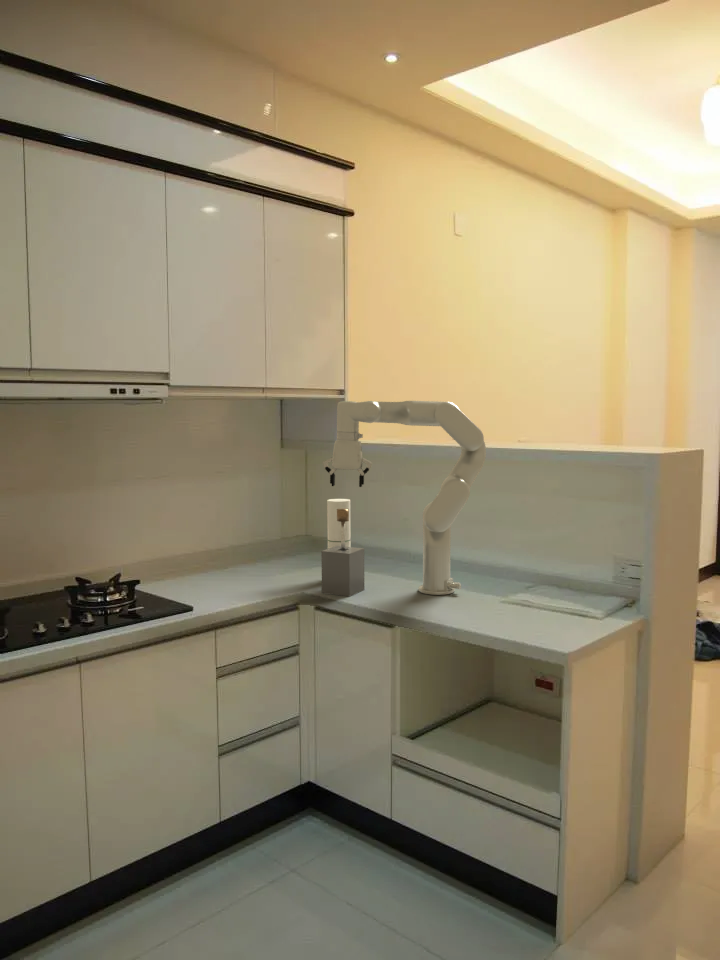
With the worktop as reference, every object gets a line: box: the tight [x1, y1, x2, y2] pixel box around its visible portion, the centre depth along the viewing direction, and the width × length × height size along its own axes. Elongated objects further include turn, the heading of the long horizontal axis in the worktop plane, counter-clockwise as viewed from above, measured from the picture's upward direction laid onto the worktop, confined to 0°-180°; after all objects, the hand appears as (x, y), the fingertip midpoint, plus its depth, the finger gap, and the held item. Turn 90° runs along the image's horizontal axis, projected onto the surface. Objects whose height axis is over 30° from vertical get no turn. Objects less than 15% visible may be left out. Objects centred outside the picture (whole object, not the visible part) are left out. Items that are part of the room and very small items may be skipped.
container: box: [326, 498, 352, 549], centre depth 283 cm, size 9×9×30 cm
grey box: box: [320, 546, 365, 598], centre depth 266 cm, size 11×11×15 cm
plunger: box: [337, 509, 349, 551], centre depth 265 cm, size 8×8×20 cm
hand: (346, 486), depth 265 cm, fingers open, 9 cm apart
